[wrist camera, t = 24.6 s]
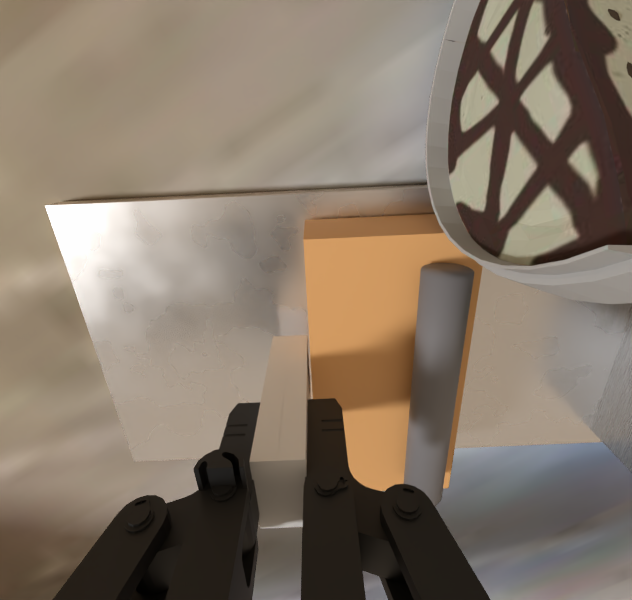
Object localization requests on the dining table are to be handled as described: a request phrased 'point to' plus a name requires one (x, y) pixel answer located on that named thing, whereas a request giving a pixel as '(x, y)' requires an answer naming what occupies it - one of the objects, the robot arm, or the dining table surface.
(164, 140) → the dining table surface
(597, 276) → the food container
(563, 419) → the vise
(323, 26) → the dining table surface
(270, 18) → the dining table surface
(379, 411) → the block
